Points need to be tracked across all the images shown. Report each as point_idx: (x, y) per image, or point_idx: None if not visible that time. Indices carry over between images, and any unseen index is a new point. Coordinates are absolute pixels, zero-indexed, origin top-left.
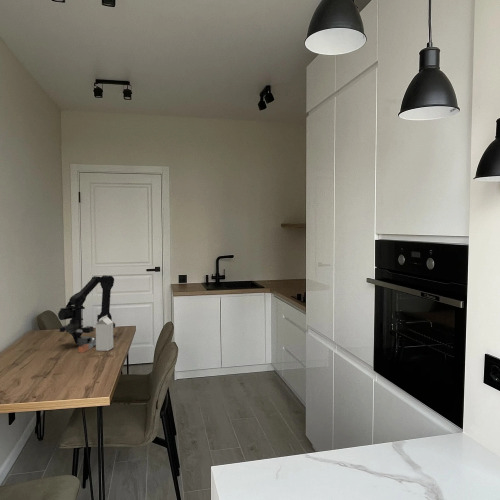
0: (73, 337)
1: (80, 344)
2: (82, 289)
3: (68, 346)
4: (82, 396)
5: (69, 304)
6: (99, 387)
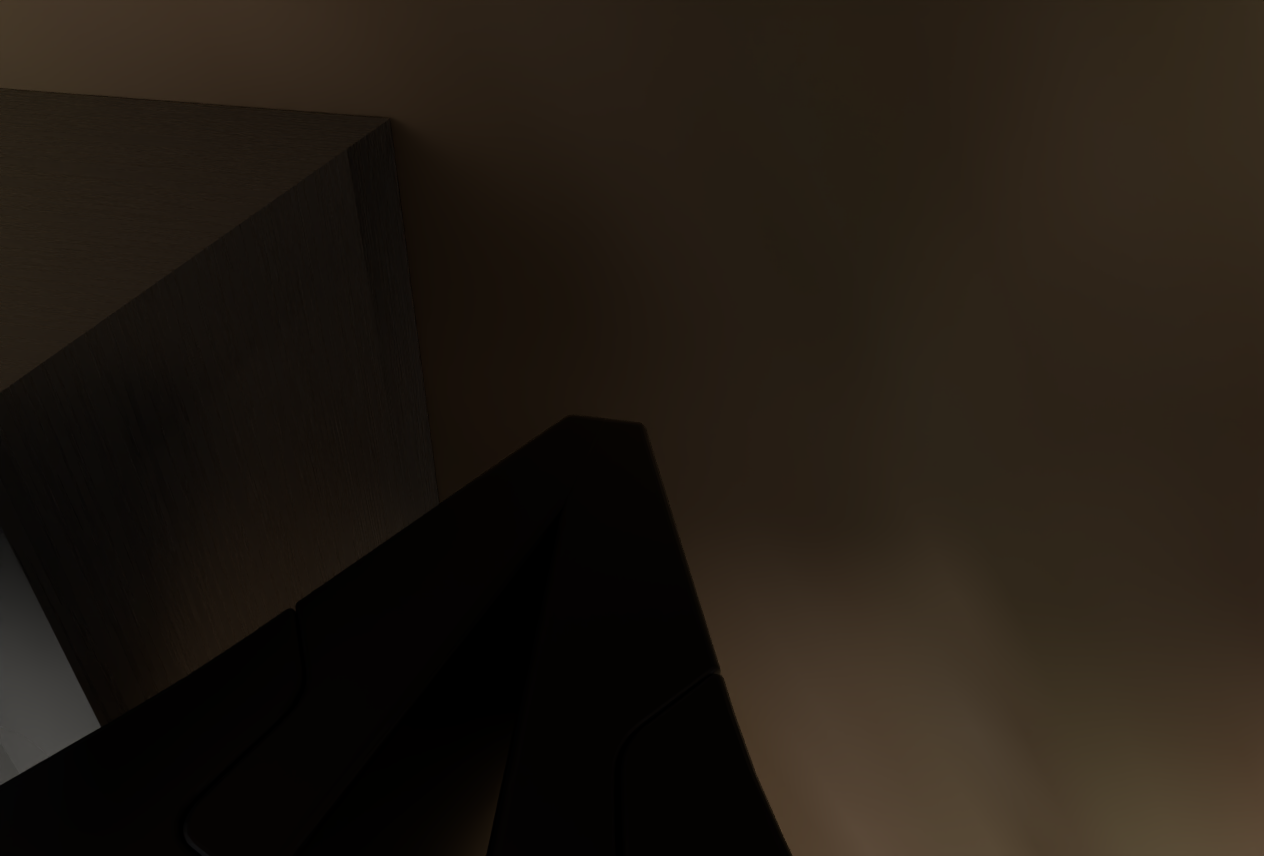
0: (699, 745)
1: (109, 150)
2: None
3: (1059, 165)
4: None
5: None
6: None
